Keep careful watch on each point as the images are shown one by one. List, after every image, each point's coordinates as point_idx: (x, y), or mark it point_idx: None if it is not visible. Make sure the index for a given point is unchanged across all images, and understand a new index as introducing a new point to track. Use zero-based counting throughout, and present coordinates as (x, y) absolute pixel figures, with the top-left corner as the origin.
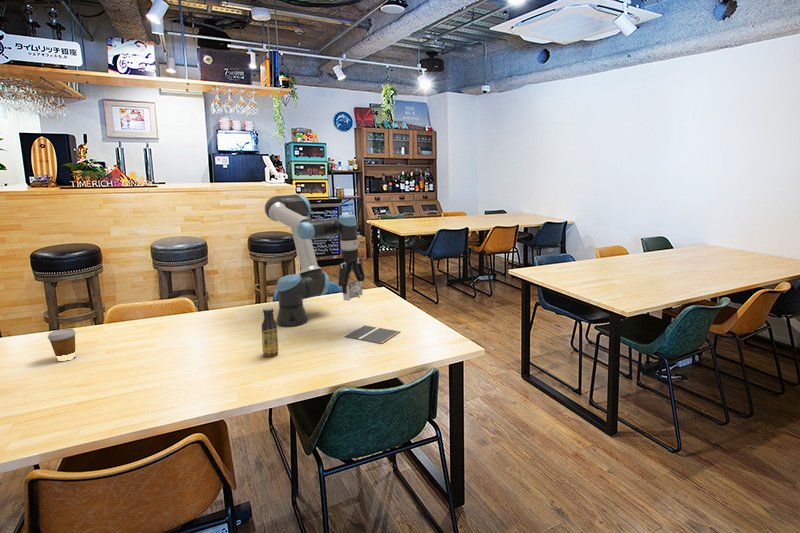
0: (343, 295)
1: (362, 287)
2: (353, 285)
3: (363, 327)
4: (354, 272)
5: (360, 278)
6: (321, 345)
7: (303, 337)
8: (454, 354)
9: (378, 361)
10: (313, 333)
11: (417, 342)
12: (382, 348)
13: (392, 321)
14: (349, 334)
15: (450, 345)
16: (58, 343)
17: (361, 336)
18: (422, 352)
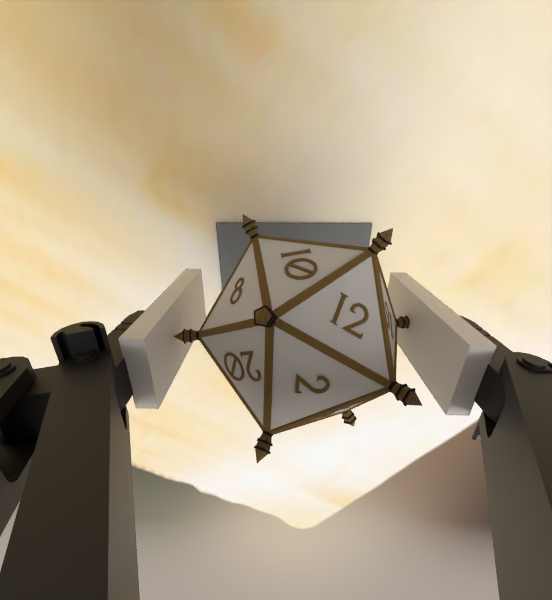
0: (170, 287)
1: (345, 422)
2: (254, 412)
3: (343, 235)
4: (545, 540)
5: (484, 449)
6: (90, 190)
7: (90, 3)
8: (261, 509)
9: (129, 414)
10: (167, 15)
11: (290, 438)
12: (204, 386)
13: (461, 299)
14: (242, 230)
15: (305, 493)
16: None
17: None
18: (236, 465)
